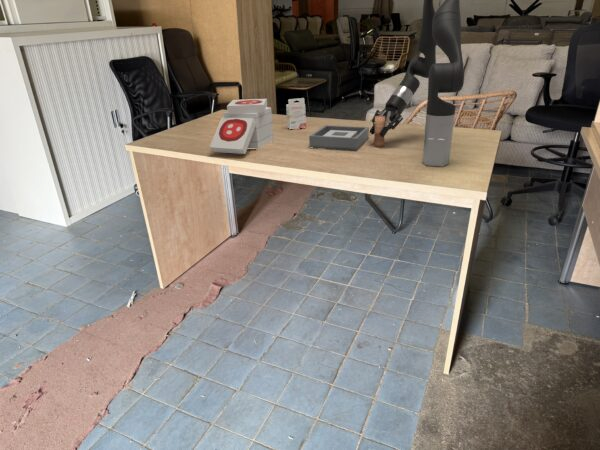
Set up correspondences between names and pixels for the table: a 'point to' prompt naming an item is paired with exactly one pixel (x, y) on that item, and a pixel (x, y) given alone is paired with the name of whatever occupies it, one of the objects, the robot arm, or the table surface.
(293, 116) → the ink cartridge box
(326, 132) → the open box
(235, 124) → the stack of white boxes
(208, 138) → the table surface
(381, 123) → the peg
